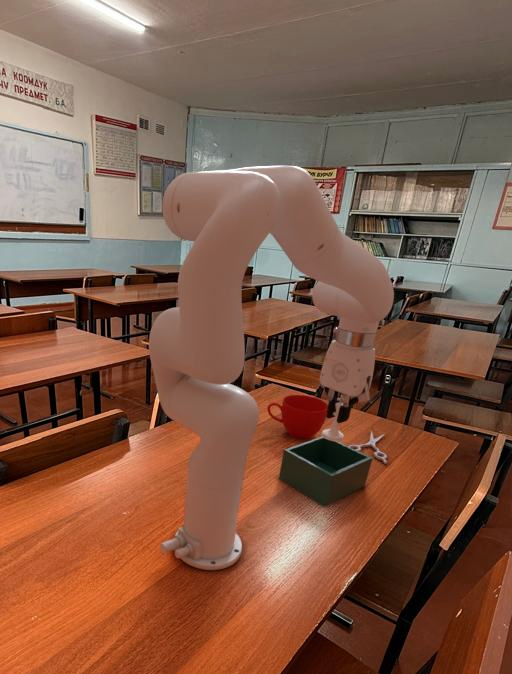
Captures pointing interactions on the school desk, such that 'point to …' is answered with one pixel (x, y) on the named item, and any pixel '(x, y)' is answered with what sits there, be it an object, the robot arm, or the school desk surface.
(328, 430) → the chess piece
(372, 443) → the scissors
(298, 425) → the ceramic cup
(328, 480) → the bin
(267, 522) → the school desk surface
